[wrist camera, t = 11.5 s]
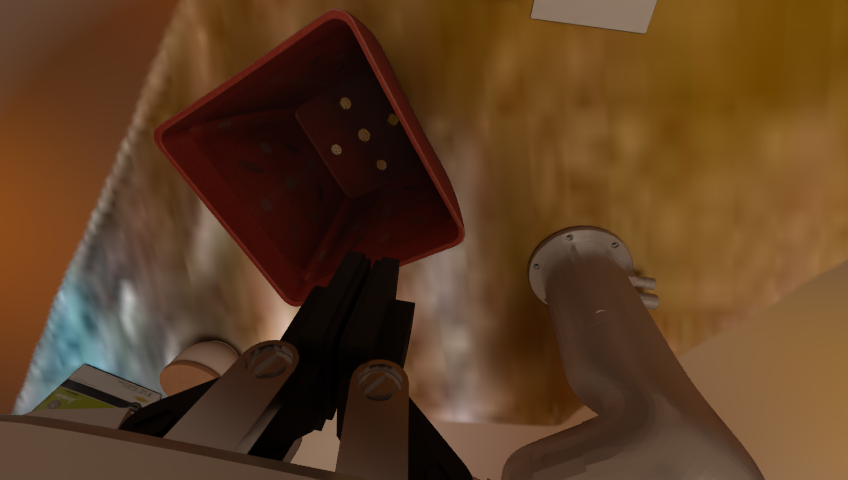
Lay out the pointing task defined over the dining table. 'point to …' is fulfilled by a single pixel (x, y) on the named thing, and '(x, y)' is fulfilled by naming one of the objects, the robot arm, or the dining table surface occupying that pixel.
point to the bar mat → (597, 13)
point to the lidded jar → (197, 366)
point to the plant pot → (315, 160)
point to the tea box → (97, 392)
